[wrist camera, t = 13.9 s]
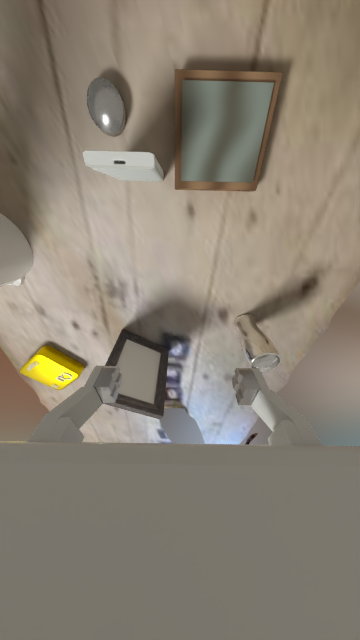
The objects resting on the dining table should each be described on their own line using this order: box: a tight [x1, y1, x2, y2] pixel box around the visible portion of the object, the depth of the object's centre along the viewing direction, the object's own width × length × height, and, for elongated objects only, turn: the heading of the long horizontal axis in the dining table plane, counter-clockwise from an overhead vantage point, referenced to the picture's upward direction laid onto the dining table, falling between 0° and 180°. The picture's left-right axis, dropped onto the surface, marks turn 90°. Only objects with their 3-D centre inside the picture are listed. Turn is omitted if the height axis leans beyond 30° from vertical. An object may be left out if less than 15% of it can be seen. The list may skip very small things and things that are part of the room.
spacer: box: [87, 77, 126, 137], centre depth 24 cm, size 5×5×2 cm
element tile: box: [20, 346, 84, 390], centre depth 57 cm, size 15×15×5 cm
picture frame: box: [103, 329, 169, 419], centre depth 43 cm, size 16×2×21 cm, turn 58°
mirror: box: [175, 69, 283, 191], centre depth 25 cm, size 14×12×3 cm
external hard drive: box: [83, 150, 164, 181], centre depth 24 cm, size 2×8×12 cm, turn 88°
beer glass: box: [233, 314, 281, 373], centre depth 41 cm, size 7×7×15 cm
